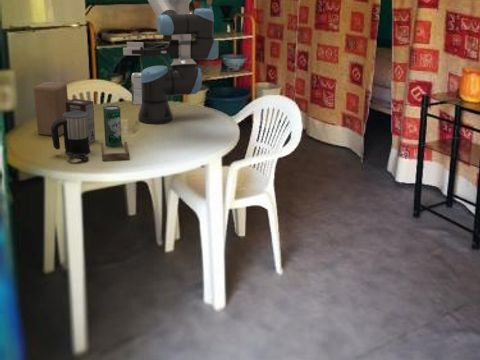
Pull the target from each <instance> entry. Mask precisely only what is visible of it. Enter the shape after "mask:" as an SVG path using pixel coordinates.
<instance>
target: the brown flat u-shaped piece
mask: <svg viewBox="0 0 480 360" xmlns="http://www.w3.org/2000/svg"><path fill="white" fill-rule="evenodd" d="M104 145H105V144H104V142H100V146H101V147H100V148H101V158H102V159H101V160H102V162H110V161H113V162H114V161H129V160H130V151H129V147H128V142H127V141H124V151H125V152H111V153H109V152H107V153H105V148H104V147H105V146H104Z"/></svg>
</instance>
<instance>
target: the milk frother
mask: <svg viewBox="0 0 480 360" xmlns="http://www.w3.org/2000/svg"><path fill="white" fill-rule="evenodd" d="M87 115H88V113H87V112H83V111H71V112H66V113H64V114H63V116H64V118H63V119H58V120H56V121H54V122H53V123H52V125H51V133H52V135H51V138H52V146H53V148H54V149H55V150H60V149H61V144H60V136H59V134H58V128H59V126H61V125H63V129H64V134H63V140H64V141H63V142H64V149H65V151H64V153H65V154H66V155H67V156H70V157H73V158H75V159H77V160H80V161H83V162H84V161H85V160H89V155H87V154H89V153H90V152H91V149H90V143H89V136H88V118H87Z"/></svg>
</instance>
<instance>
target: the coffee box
mask: <svg viewBox="0 0 480 360" xmlns="http://www.w3.org/2000/svg"><path fill="white" fill-rule="evenodd" d="M71 111H83V112H87V113H88V115H87V118H88V136H89V144H91V143H92V142H94V141H96V128H95V125H96V124H95V113H94V112H95V109H94V101H93V100H89V99H88V100H87V99H80V98H72V99H70V100H68V101H67V102H66V112H71Z"/></svg>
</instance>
